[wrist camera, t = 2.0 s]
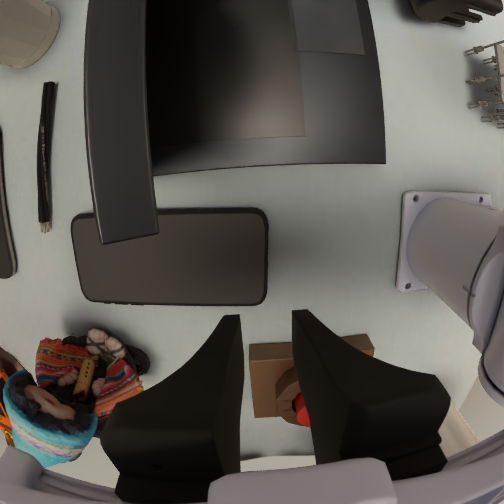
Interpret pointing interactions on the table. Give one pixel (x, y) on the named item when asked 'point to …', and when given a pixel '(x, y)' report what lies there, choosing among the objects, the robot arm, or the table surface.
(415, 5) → the end cap
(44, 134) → the black pen
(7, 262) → the smartphone
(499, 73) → the building frame
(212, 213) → the smartphone
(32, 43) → the cup
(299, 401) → the button
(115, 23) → the laptop screen
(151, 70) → the laptop
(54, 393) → the figurine
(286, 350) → the switch block
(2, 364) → the toy spacecraft
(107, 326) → the table surface
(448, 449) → the cup
